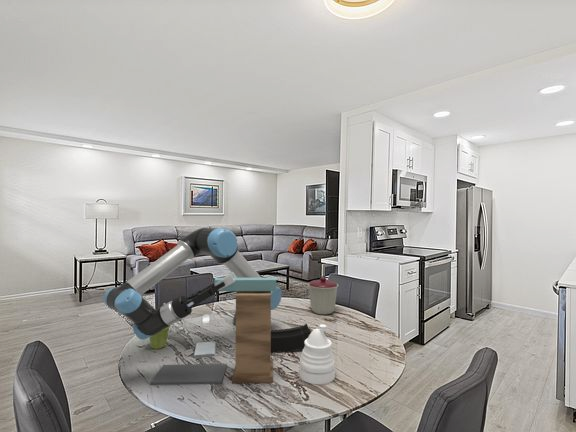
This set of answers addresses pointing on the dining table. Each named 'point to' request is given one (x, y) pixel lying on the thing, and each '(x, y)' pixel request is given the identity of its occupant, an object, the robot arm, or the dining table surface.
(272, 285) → the teal square bar
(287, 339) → the magazine
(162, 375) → the pad
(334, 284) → the canister
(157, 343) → the plant pot
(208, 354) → the hard drive
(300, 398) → the dining table surface
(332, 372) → the honey pot
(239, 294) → the stand
